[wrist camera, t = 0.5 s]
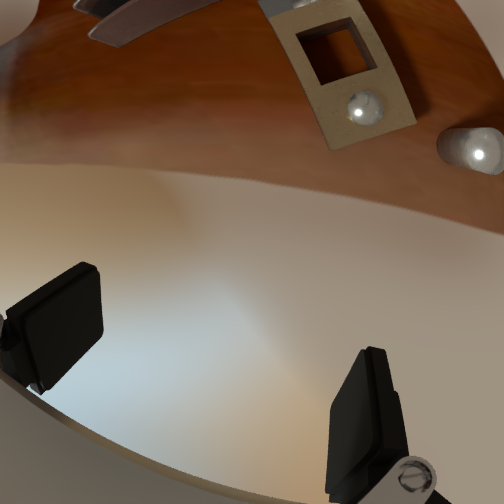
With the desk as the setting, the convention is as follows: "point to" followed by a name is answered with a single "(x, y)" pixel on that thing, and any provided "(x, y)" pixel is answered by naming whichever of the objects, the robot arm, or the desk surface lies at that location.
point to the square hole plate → (347, 89)
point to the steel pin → (473, 149)
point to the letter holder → (133, 16)
